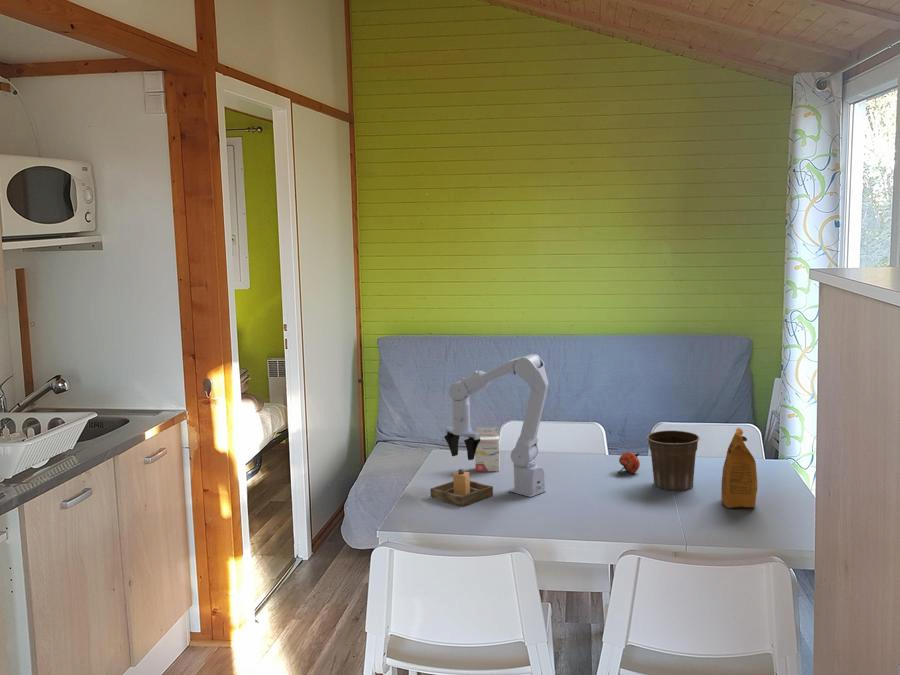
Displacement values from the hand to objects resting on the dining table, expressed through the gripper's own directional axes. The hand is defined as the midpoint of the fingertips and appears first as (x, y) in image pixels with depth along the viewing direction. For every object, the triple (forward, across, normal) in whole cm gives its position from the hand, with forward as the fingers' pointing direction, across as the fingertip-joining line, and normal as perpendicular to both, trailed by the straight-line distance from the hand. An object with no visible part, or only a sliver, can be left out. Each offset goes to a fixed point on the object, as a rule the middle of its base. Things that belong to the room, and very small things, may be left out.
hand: (462, 457), depth 281 cm
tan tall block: (+9, -8, +9) cm, 15 cm away
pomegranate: (+10, -34, -45) cm, 57 cm away
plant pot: (+10, -53, -42) cm, 68 cm away
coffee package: (+10, -77, -39) cm, 87 cm away
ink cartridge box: (+10, +6, -18) cm, 21 cm away
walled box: (+9, -8, +9) cm, 15 cm away
